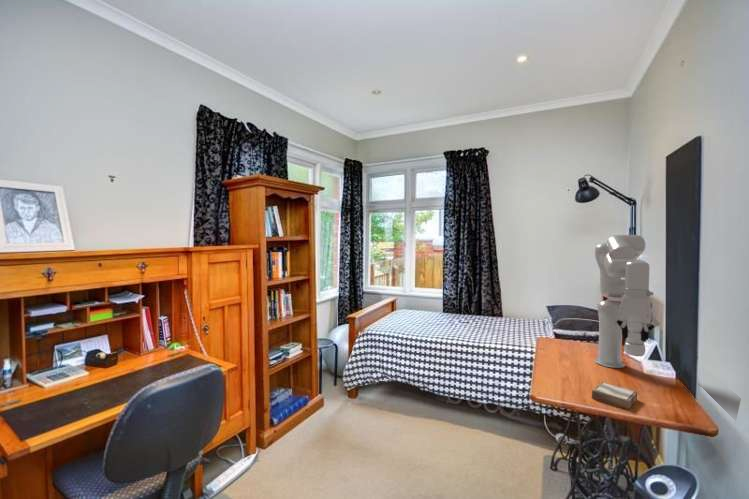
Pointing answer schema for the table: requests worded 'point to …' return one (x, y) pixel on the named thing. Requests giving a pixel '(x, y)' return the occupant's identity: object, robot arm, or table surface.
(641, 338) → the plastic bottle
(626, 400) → the plinth
